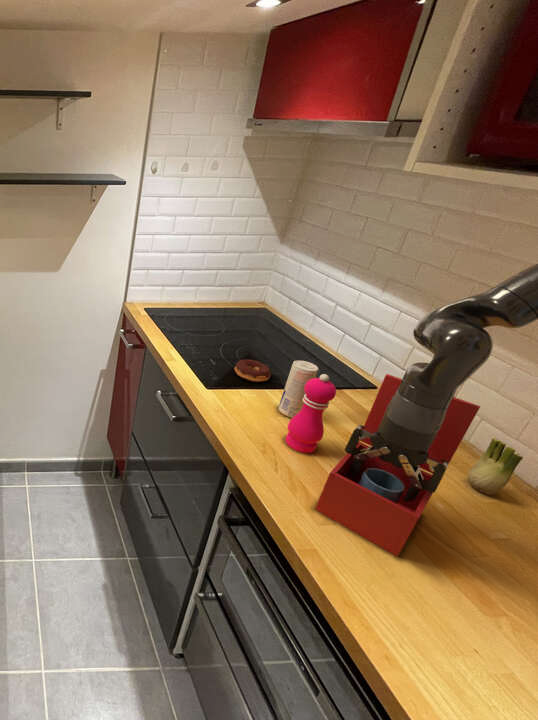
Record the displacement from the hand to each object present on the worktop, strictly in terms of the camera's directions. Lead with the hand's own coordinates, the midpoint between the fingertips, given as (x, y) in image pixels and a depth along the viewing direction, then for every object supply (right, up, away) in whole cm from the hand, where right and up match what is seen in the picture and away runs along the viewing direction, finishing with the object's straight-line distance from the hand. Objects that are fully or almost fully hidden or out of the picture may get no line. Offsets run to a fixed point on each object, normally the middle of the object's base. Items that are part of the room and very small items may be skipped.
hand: (379, 486), depth 88 cm
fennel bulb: (+30, -4, +9) cm, 31 cm away
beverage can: (+4, +7, +34) cm, 35 cm away
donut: (+3, +15, +51) cm, 53 cm away
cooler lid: (+6, +12, -1) cm, 14 cm away
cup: (0, -6, +2) cm, 6 cm away
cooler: (0, -6, +3) cm, 7 cm away
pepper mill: (-1, +2, +22) cm, 22 cm away
